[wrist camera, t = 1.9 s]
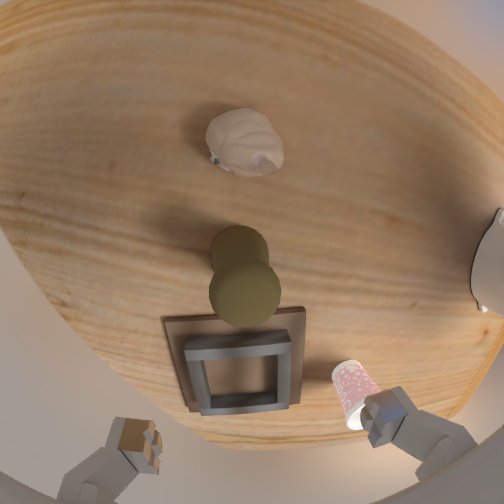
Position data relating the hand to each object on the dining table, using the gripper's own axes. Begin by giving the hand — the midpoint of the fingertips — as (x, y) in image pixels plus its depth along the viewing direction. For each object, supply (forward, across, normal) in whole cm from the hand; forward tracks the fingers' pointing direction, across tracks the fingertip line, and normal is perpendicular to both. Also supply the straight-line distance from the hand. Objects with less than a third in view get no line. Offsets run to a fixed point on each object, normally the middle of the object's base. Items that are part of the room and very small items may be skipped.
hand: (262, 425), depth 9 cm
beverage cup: (+21, -14, +19) cm, 32 cm away
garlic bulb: (+21, -1, -11) cm, 24 cm away
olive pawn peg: (+21, 0, 0) cm, 21 cm away
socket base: (+21, +1, +15) cm, 26 cm away
